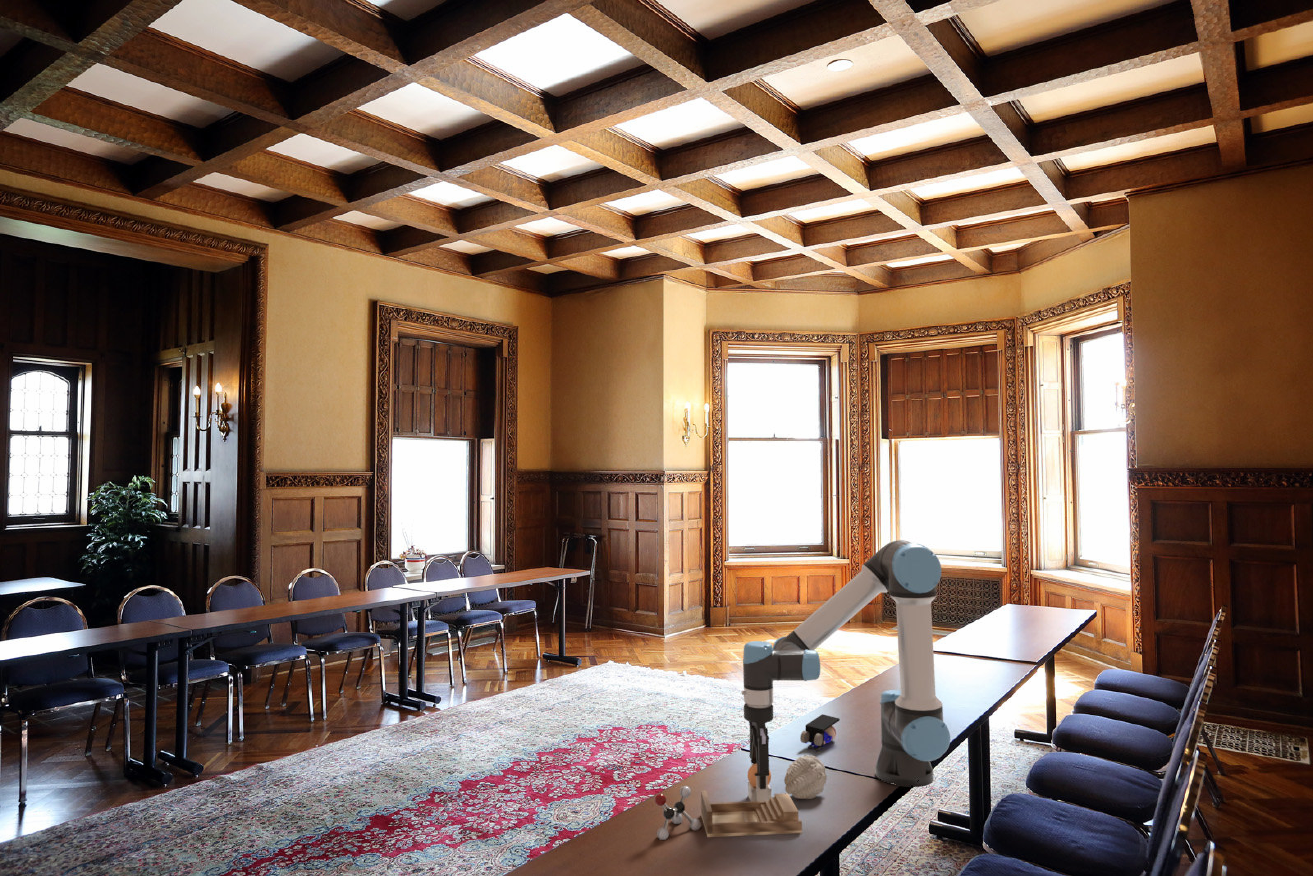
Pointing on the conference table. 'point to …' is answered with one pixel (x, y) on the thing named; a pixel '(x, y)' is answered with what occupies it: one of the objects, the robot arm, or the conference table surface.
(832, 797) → the conference table surface
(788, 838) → the conference table surface
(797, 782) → the fossil replica
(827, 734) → the figurine character
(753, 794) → the white open box
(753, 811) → the wooden stepped tray
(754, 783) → the ball
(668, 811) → the molecular model
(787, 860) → the conference table surface
